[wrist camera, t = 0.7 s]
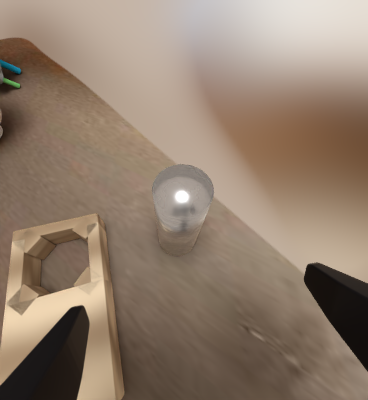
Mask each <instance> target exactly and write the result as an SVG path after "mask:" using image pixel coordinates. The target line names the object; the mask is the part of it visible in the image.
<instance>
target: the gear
mask: <svg viewBox="0 0 368 400" xmlns="http://www.w3.org/2000/svg"><path fill="white" fill-rule="evenodd" d="M1 67H3V68H6V69H8V70H10V71H12V72H15V73H17V74H20V72H21V69H20V68H17V67H15V66H13V65H11V64H9V63H7V62H4V61H2V60H0V84H2V83H3V82H4V83H6V84H9V85H11V86H14V87H16V88H20V84H18V83H15V82H13V81H11V80H8V79H6V78H3V72H2V68H1Z"/></svg>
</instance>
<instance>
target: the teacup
mask: <svg viewBox="0 0 368 400" xmlns="http://www.w3.org/2000/svg"><path fill="white" fill-rule="evenodd" d="M1 120H2V113H1V109H0V123H1ZM2 134H3V129H2V127H1V126H0V138H1V136H2Z"/></svg>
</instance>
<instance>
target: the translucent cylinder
mask: <svg viewBox="0 0 368 400" xmlns="http://www.w3.org/2000/svg"><path fill="white" fill-rule="evenodd" d="M152 192H153V200H154V207H155V215H156V222H157V230H158V237H159V243H160V246H161V248H162V249H163V250H164V251H165V252H166V253H168V254H169V255H172V256H183V255H185V254H187V253H188V252H190V251H191V250H192V248H193V247H194V244H195V242H196V239H197V237H198V234H199V232H200V229H201V227H202V224H203V222H204V219H205V217H206V214H207V212H208V209H209V207H210V204H211V202H212V199H213V195H214V188H213V184H212V182H211V180H210V178H209V177H208V176H207V174H205V173H204V172H203V171H202V170H200V169H198V168H196V167H194V166H190V165H184V164H182V165H181V164H180V165H173V166H170V167H168V168H166V169H164V170H162V171H161V172H160V173H159V174H158V175H157V177H156V178H155V180H154V183H153V187H152Z"/></svg>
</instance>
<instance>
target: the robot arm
mask: <svg viewBox="0 0 368 400" xmlns="http://www.w3.org/2000/svg"><path fill="white" fill-rule="evenodd" d="M304 282H305V285H306V286H307V288H308V289H309V291H310V292H311V294H312V296H313V297H314V299H315V300H316V302H317V303H318V305H319V306H320V308H321V309H322V311H323V313H324V314H325V316H326V317H327V319H328V320H329V321H330V323H331V324H332V325H333V327H334V328H335V329H336V331H337V332H338V333H339V335H340V336H341V337H342V339H343V340H344V341H345V343H346V344H347V345H348V346H349V348H350V349H351V350H352V352H353V353H354V354H355V356H356V357H357V358H358V359H359V361H360V362H361V363H362V365H363V366H364V367H365V369H366V370H367V371H368V283H365V282H363V281H361V280H358V279H356V278H354V277H351V276H349V275H346V274H344V273H342V272H339V271H337V270H335V269H332V268H330V267H328V266H325V265H323V264H320V263H311V264H308V265H307V267H306V271H305V276H304ZM89 327H90V322H89V318H88V315H87V312H86V309H85V307H84V306H83V305H79V306H74V307H71V308H70V309H69V310H68V311H67V312H66V313H65V314H64V315H63V316H62V317H61V319H60V320H59V321H58V322H57V323H56V324H55V325H54V326H53V327H52V328H51V330H50V331H49V332H48V333H47V334H46V335H45V336H44V337H43V338H42V340H41V341H40V342H39V343H38V344H37V345H36V346H35V347H34V348H33V350H32V351H31V352H30V353H29V354H28V355H27V356H26V357H25V358H24V360H23V361H22V362H21V363H20V364H19V365H18V366H17V367H16V368H15V370H14V371H13V372H12V373H11V374H10V375H9V376H8V377H7V378H6V380H5V381H4V382H3V383H2V384H1V385H0V400H77V397H78V393H79V389H80V384H81V380H82V375H83V369H84V362H85V355H86V348H87V341H88V334H89Z"/></svg>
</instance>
